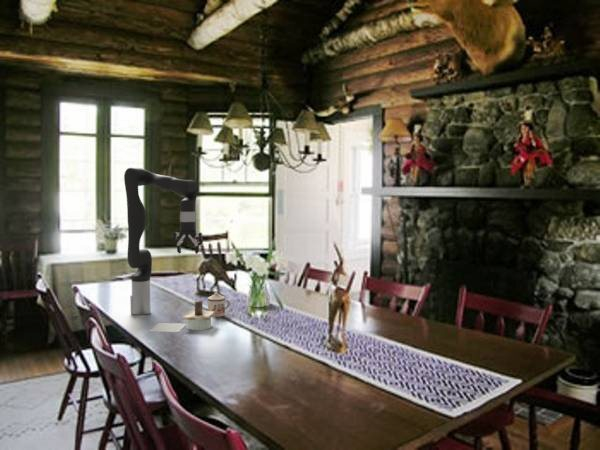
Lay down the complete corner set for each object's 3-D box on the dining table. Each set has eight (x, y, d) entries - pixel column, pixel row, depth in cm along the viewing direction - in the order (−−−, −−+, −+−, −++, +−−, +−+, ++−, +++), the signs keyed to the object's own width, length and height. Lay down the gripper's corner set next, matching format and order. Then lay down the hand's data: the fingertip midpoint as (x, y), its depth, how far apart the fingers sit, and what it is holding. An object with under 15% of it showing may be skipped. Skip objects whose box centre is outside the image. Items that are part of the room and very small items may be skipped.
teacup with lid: (212, 318, 261) (211, 295, 260) (204, 314, 268) (204, 292, 267) (233, 314, 267) (233, 292, 266) (225, 311, 275) (225, 289, 274)
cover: (182, 319, 237) (182, 304, 237) (189, 312, 249) (189, 298, 248) (208, 320, 236) (208, 304, 236) (214, 313, 248) (214, 299, 248)
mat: (148, 332, 236) (148, 331, 235) (158, 323, 249) (158, 322, 249) (178, 333, 235) (178, 331, 235) (187, 324, 249) (187, 323, 249)
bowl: (184, 330, 238) (184, 319, 238) (190, 324, 249) (190, 313, 248) (207, 331, 237) (207, 319, 237) (213, 324, 248) (212, 313, 248)
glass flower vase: (242, 305, 288) (242, 273, 286) (254, 300, 299) (254, 270, 298) (261, 308, 282) (261, 275, 281) (273, 303, 293) (273, 272, 292)
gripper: (171, 221, 251) (171, 254, 253) (200, 221, 250) (200, 254, 252) (175, 220, 259) (176, 252, 260) (203, 220, 258) (204, 252, 259)
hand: (188, 253), depth 256 cm, fingers open, 8 cm apart
